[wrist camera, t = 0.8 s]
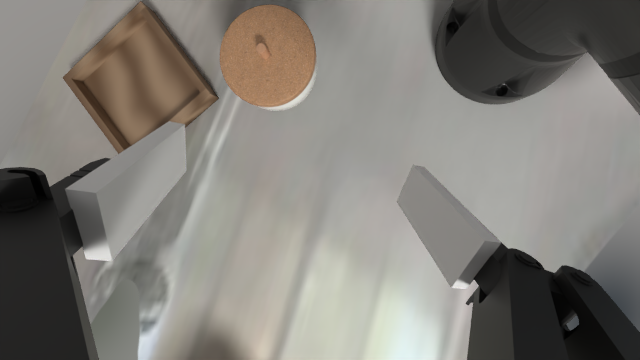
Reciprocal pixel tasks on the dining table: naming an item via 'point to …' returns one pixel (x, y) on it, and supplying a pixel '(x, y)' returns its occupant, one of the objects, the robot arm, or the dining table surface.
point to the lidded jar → (269, 57)
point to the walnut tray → (138, 80)
